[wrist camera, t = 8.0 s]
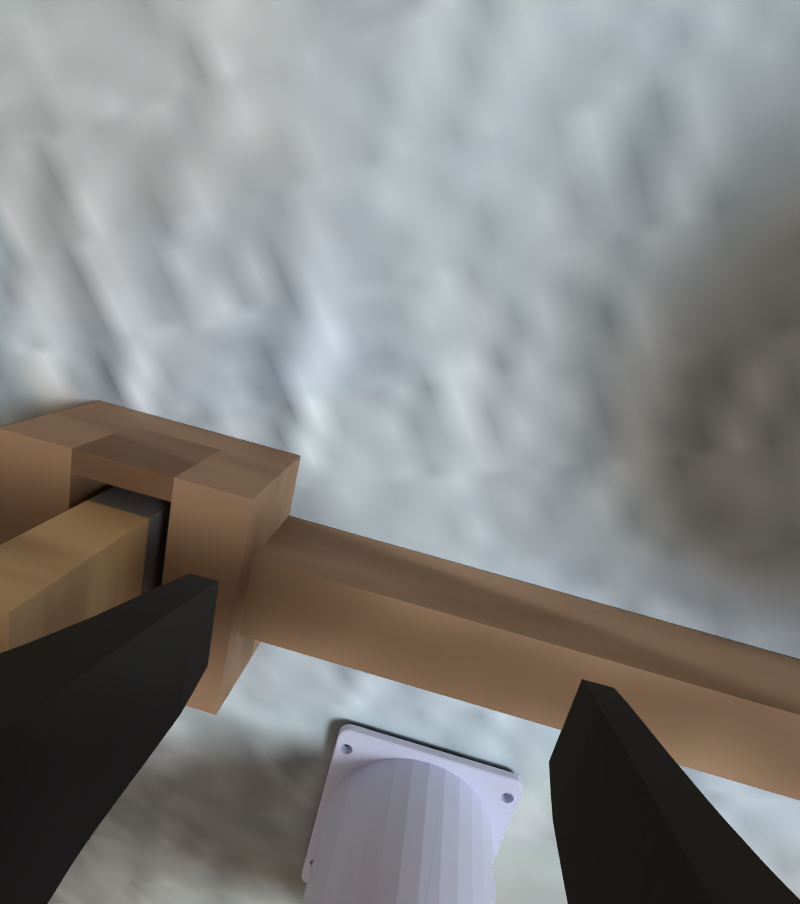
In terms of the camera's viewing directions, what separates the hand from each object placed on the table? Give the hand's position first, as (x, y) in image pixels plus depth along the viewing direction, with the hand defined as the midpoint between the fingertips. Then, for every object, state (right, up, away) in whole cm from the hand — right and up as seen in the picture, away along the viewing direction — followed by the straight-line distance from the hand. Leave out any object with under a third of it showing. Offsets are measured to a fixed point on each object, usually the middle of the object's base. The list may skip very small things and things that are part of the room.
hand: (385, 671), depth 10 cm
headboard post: (+2, -1, +10) cm, 10 cm away
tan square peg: (-8, +1, +9) cm, 13 cm away
